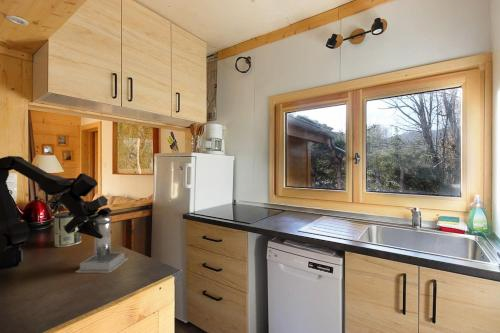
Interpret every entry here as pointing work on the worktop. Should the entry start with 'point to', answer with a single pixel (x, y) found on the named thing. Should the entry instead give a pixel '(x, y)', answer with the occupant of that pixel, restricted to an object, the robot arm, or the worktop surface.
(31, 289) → the worktop surface
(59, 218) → the coffee can
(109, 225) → the lidded steel tumbler
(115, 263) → the collar
